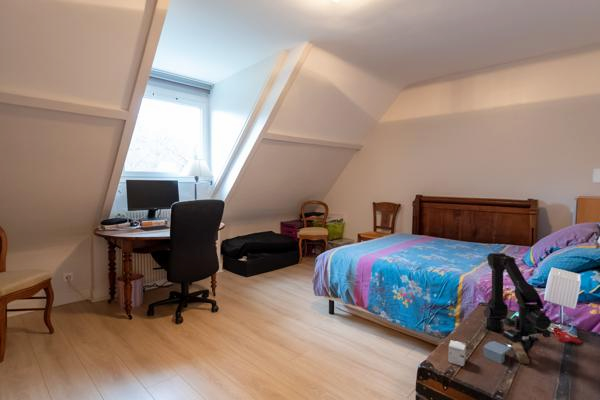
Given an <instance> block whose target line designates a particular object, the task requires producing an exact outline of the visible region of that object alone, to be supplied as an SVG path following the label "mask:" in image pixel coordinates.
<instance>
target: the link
mask: <svg viewBox="0 0 600 400" xmlns="http://www.w3.org/2000/svg"><path fill="white" fill-rule="evenodd" d="M508 341H509V344H510V345H512V347H513V348H512V350H513V351H514V353H515V355H516V356H517V359H518V361H519V364H520V363H521V364H526V365H529V364H530V359H529V356H528V355H527V353H526V352H525V351H524V349H523V347H522V346H521V344H522V343H521V342H517V343H514V342H512V341H510V340H508Z"/></svg>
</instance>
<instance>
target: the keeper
mask: <svg viewBox="0 0 600 400" xmlns="http://www.w3.org/2000/svg"><path fill="white" fill-rule="evenodd" d="M511 350H512V348H510V347H508V346H507V345H506V344H502V343H500V342H498V341H494V340H493V341H489V342H487V343H485V344H484V345H483V357H484V358H487V359H488V360H490V361H493V362H495V363H498V364H500V365H502V364H503V363H504V362H505V357H506V356H505V355H506V354H507V353H508V352H511Z"/></svg>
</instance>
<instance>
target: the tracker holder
mask: <svg viewBox="0 0 600 400" xmlns="http://www.w3.org/2000/svg"><path fill="white" fill-rule="evenodd" d="M552 329H553V333H554V335H555V337H556V339H557V340H558V341H560V342H561V343H563V344H564V343H567V342H572V343H575V344H578V345H581V344H582V341H581V339H579V338H578V337H577V336H576V335H575V334H573V333H571V332H568V331H567V332H566V331H564V329H563V328H560V327H558V326H553V327H552ZM557 332H558V333H559V334H558V333H557Z"/></svg>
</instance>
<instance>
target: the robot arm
mask: <svg viewBox="0 0 600 400" xmlns="http://www.w3.org/2000/svg"><path fill="white" fill-rule="evenodd" d="M486 259H487V263H488V266H489V268H490V269H491V298H490V299H489V300H488V302H487V306H486V308H485V309H484V310H483V316H484V317H485V318H486V326H485V327H484V328H485V329H487V330H489V331H492V332H494V333H501V332H503V333H502V336H503V337H504V338H505V339H507V341H509V340H510V341H512V342H514V343H517V342H520V344H522V346H523V348H524V351H525V353H526V354H528V353H529V352H530V351H531V350H532V348H533V346H534V345H536V343H537V342H538V341H540V338H538V337H537V335H541V334H542V336H543V337H544V338H545V339H546V338H547V339H548V338H551V332H550V330H549V329H548V328H550V327H551V324H552V321H551V319H550V317H549V316H547V314H546V312H545V311H544V309H545V307H544V303H543V301H542V299H541V297H540V294H539V292H538V291H537V290H536V289H535V287H534V286H533V285H532V284H530V283H528V282H527V280H526V279H525V277H524V275H523V273H522V271H521V270H520V268H519V266H518V265H517V263H516V258H515V257H513V256H511V255H507V254H506V253H505V252H491V253H489V254H488V255H487V257H486ZM505 271H506V273H507V274H508V276H509V279H510V280H511V282H512V284H513V285H514V294H515V298H516V300H517V301H516V302H515V303H516V304H517V305H518V312H519V318H513V319H510V318H511V317H510V318H509V317H507V316H508V314H509V311H508V305H507V304H506V302H505V301H504V273H505ZM503 320H504V321H503ZM504 326H506V327H508V328H514V330H513V329H506V330H505V327H504ZM515 330H516V331H515Z"/></svg>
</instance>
